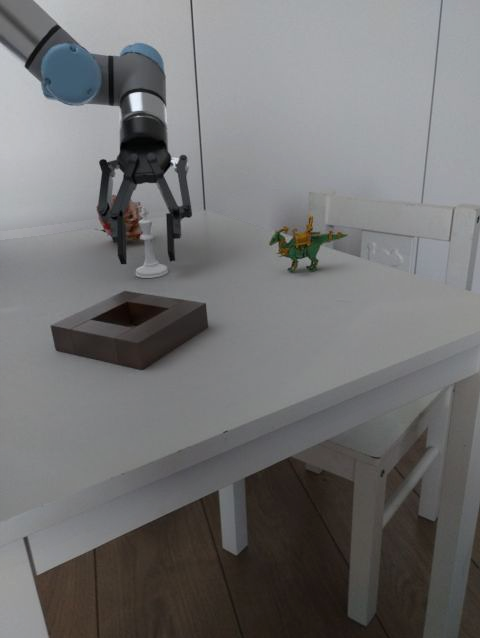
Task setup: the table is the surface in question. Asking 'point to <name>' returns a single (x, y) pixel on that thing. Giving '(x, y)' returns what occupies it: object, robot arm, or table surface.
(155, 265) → the chess piece
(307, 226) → the figurine
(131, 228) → the flower
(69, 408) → the table surface
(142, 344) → the hollow square frame
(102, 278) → the table surface
